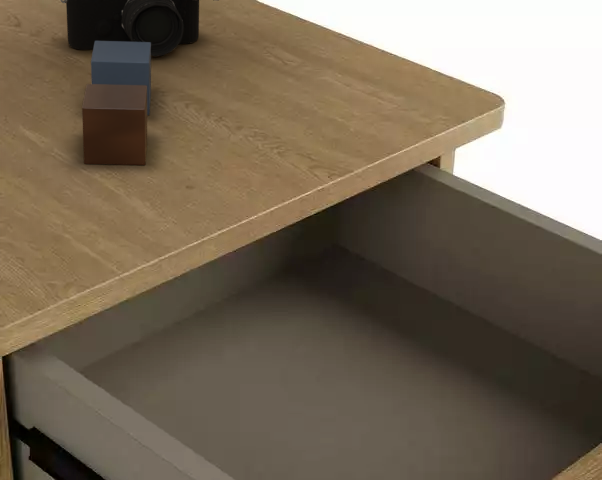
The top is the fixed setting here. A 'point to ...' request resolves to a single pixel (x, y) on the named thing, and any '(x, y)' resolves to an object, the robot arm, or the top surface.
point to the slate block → (122, 64)
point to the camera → (133, 22)
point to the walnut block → (115, 124)
